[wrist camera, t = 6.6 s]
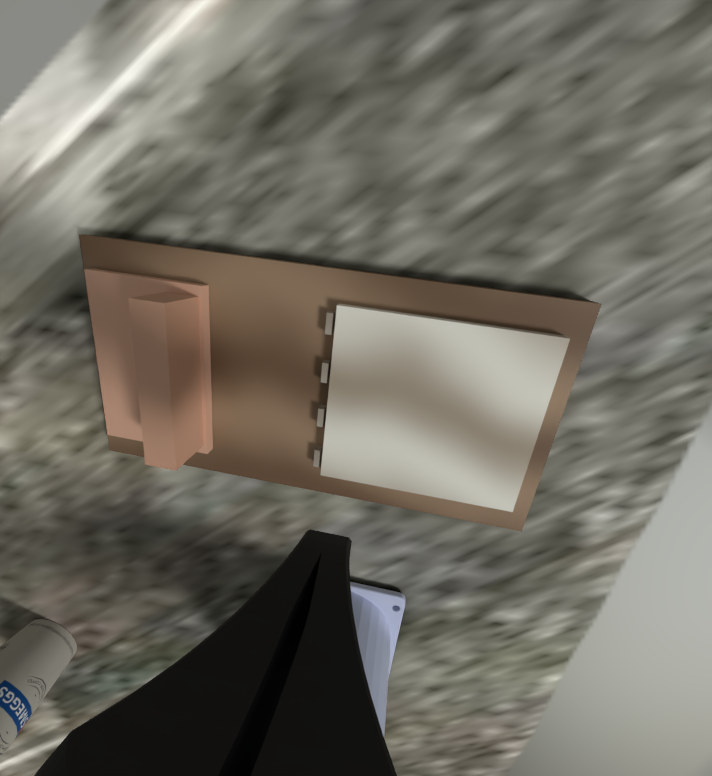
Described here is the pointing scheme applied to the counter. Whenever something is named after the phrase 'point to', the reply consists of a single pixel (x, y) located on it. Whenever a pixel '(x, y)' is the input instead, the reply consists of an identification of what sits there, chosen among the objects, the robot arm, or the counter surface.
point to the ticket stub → (154, 362)
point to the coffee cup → (30, 673)
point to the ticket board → (374, 379)
